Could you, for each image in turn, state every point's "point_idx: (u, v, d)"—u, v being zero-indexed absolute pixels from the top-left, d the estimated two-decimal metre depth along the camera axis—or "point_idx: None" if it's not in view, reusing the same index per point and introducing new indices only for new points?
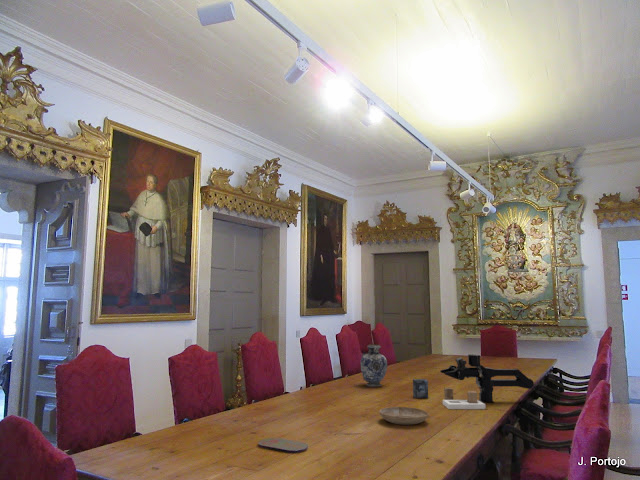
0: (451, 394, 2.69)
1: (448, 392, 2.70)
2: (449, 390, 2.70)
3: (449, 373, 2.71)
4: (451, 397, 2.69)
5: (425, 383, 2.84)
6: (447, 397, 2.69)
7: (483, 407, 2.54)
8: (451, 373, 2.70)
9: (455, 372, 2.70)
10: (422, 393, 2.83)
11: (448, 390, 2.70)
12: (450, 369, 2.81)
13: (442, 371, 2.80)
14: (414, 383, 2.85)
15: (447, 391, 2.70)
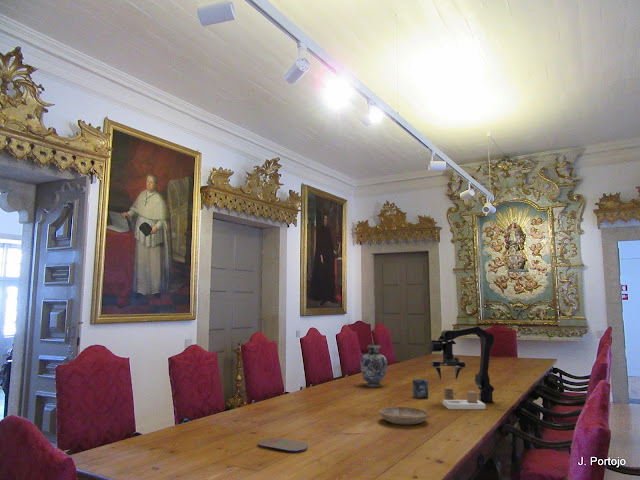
0: (451, 394, 2.70)
1: (448, 392, 2.70)
2: (449, 390, 2.70)
3: None
4: (451, 397, 2.69)
5: (425, 383, 2.84)
6: (447, 397, 2.69)
7: (483, 407, 2.54)
8: None
9: None
10: (422, 393, 2.83)
11: (448, 390, 2.70)
12: None
13: None
14: (414, 383, 2.85)
15: (447, 391, 2.70)
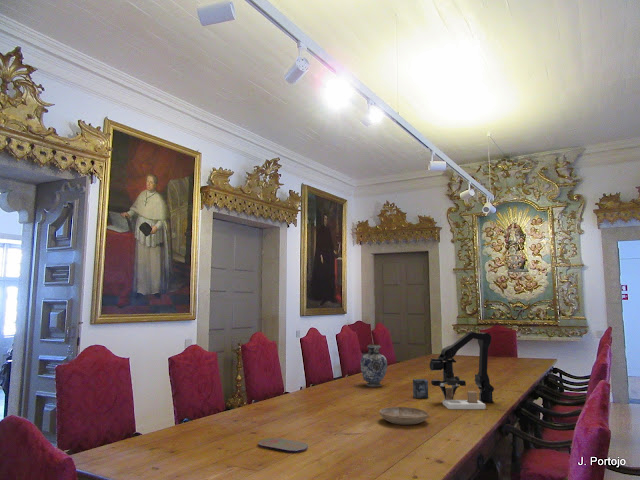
0: (451, 394, 2.69)
1: (448, 392, 2.70)
2: (449, 390, 2.70)
3: None
4: (451, 397, 2.69)
5: (425, 383, 2.84)
6: (447, 397, 2.69)
7: (483, 407, 2.54)
8: None
9: None
10: (422, 393, 2.83)
11: (448, 390, 2.70)
12: None
13: None
14: (414, 383, 2.85)
15: (447, 391, 2.70)
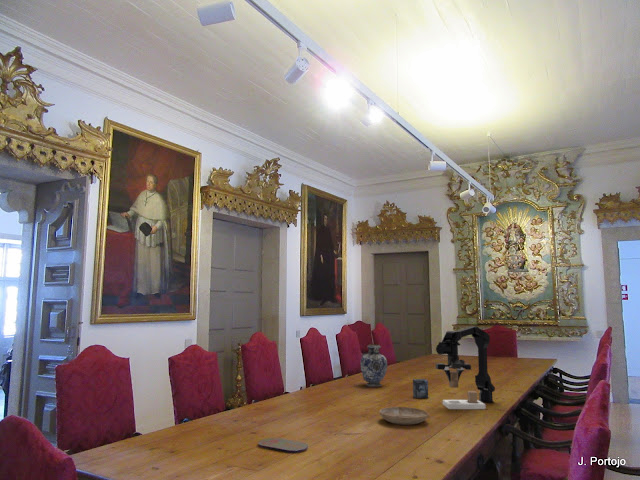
0: (456, 378, 2.60)
1: (453, 376, 2.61)
2: (454, 374, 2.61)
3: None
4: (456, 381, 2.60)
5: (425, 383, 2.84)
6: (452, 381, 2.60)
7: (483, 407, 2.54)
8: None
9: None
10: (422, 393, 2.83)
11: (453, 374, 2.61)
12: None
13: None
14: (414, 383, 2.85)
15: (451, 375, 2.61)
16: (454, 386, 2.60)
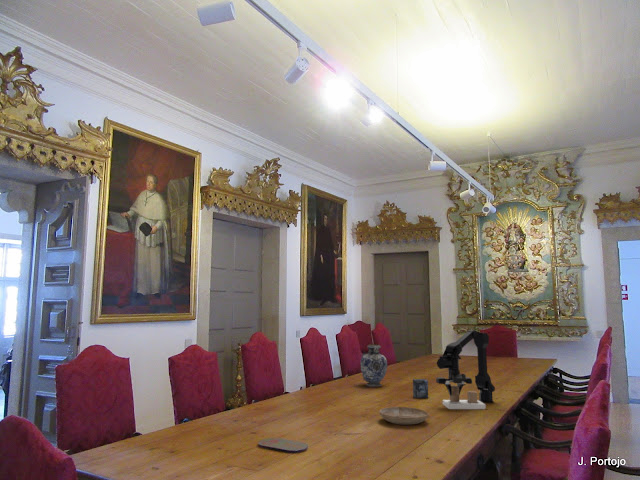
0: (457, 392, 2.59)
1: (454, 390, 2.59)
2: (455, 388, 2.59)
3: None
4: (457, 395, 2.59)
5: (425, 383, 2.84)
6: (453, 395, 2.59)
7: (483, 407, 2.54)
8: None
9: None
10: (422, 393, 2.83)
11: (454, 388, 2.59)
12: None
13: None
14: (414, 383, 2.85)
15: (452, 389, 2.59)
16: (455, 400, 2.58)
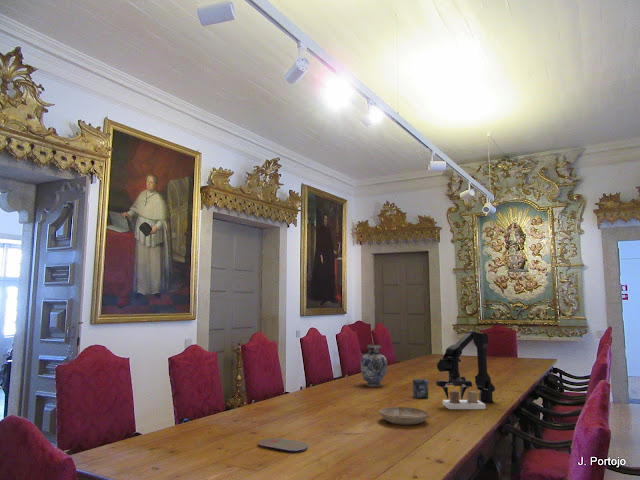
0: (457, 398, 2.59)
1: (454, 395, 2.59)
2: (455, 394, 2.59)
3: None
4: (457, 401, 2.58)
5: (425, 383, 2.84)
6: (453, 401, 2.58)
7: (483, 407, 2.54)
8: None
9: None
10: (422, 393, 2.83)
11: (454, 394, 2.59)
12: None
13: None
14: (414, 383, 2.85)
15: (453, 395, 2.59)
16: None
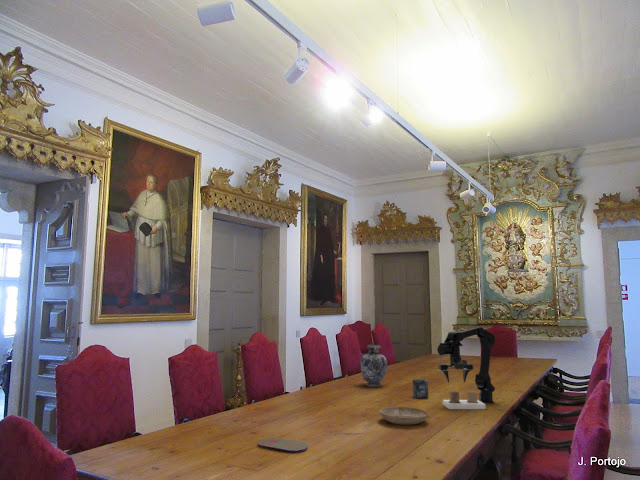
0: (457, 398, 2.59)
1: (454, 395, 2.59)
2: (455, 394, 2.59)
3: None
4: (457, 401, 2.58)
5: (425, 383, 2.84)
6: (453, 401, 2.58)
7: (483, 407, 2.54)
8: None
9: None
10: (422, 393, 2.83)
11: (454, 394, 2.59)
12: None
13: None
14: (414, 383, 2.85)
15: (452, 395, 2.59)
16: None
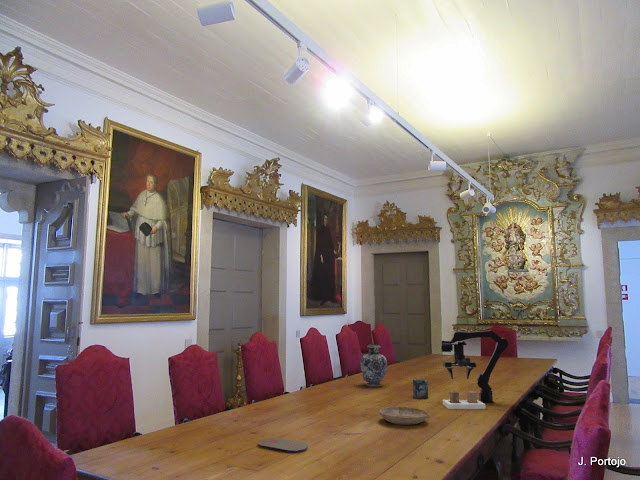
0: (457, 398, 2.59)
1: (454, 395, 2.59)
2: (455, 394, 2.59)
3: None
4: (457, 401, 2.58)
5: (425, 383, 2.84)
6: (453, 401, 2.58)
7: (483, 407, 2.54)
8: None
9: None
10: (422, 393, 2.83)
11: (454, 394, 2.59)
12: None
13: None
14: (414, 383, 2.85)
15: (452, 395, 2.59)
16: None
